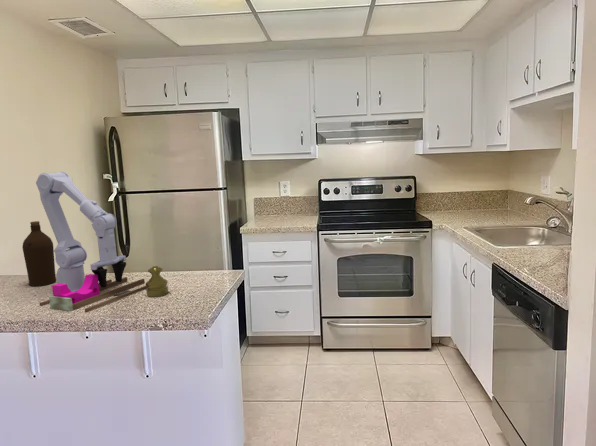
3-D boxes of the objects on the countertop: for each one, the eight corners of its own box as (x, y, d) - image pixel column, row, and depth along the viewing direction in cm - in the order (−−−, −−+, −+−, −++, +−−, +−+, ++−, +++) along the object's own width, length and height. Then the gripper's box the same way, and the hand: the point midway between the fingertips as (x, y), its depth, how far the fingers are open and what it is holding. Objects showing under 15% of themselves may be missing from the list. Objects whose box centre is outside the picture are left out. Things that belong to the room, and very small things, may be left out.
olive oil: (58, 283, 180) (50, 221, 176) (27, 288, 175) (18, 224, 171) (57, 278, 189) (49, 219, 185) (28, 282, 184) (19, 221, 180)
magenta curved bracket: (67, 309, 146) (65, 286, 145) (54, 307, 149) (51, 285, 148) (104, 295, 160) (102, 275, 159) (92, 294, 162) (89, 273, 161)
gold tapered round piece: (168, 289, 163) (165, 262, 162) (168, 295, 156) (166, 267, 155) (146, 292, 161) (144, 265, 160) (146, 298, 154) (143, 269, 153)
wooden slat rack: (37, 306, 151) (36, 294, 150) (114, 280, 180) (113, 270, 180) (84, 312, 142) (83, 300, 141) (157, 284, 171) (156, 274, 171)
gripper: (99, 252, 155) (103, 290, 157) (130, 244, 168) (134, 279, 170) (84, 251, 158) (88, 289, 160) (116, 243, 171) (120, 278, 173)
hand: (111, 284), depth 165 cm, fingers open, 7 cm apart
